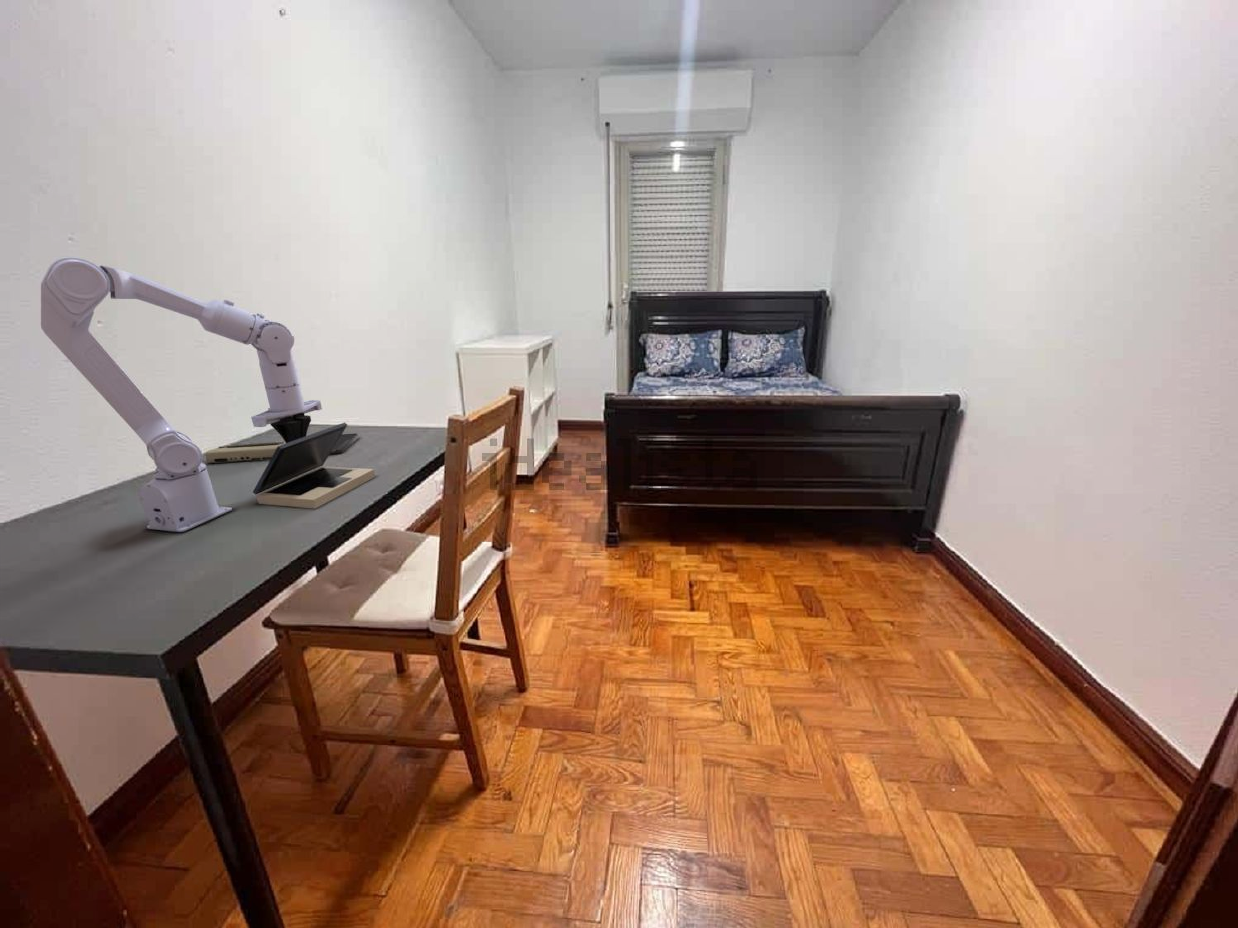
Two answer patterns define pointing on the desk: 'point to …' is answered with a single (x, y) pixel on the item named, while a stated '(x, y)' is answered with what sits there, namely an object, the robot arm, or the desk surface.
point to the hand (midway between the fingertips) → (298, 452)
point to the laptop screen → (299, 457)
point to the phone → (344, 443)
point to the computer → (242, 452)
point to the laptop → (316, 487)
